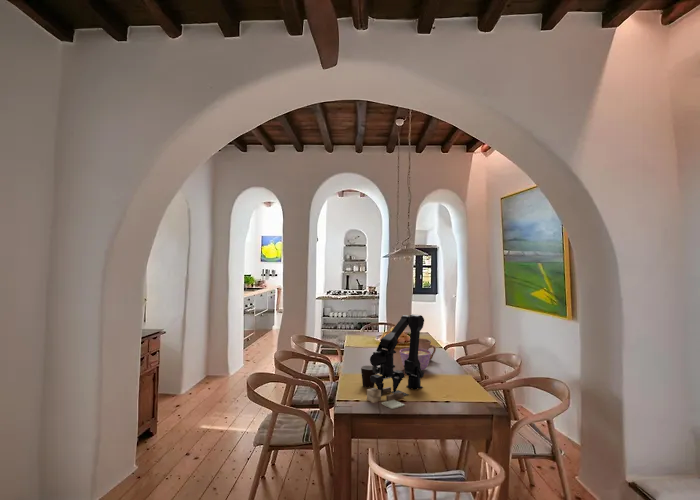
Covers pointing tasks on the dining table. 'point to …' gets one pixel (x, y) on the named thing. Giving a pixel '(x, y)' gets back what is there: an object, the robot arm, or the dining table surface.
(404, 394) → the tile
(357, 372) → the dining table surface
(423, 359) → the bowl of food
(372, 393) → the beech block
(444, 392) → the dining table surface
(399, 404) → the sage coaster
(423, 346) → the ceramic jug
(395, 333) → the robot arm
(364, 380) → the coffee mug
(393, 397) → the walnut channel
